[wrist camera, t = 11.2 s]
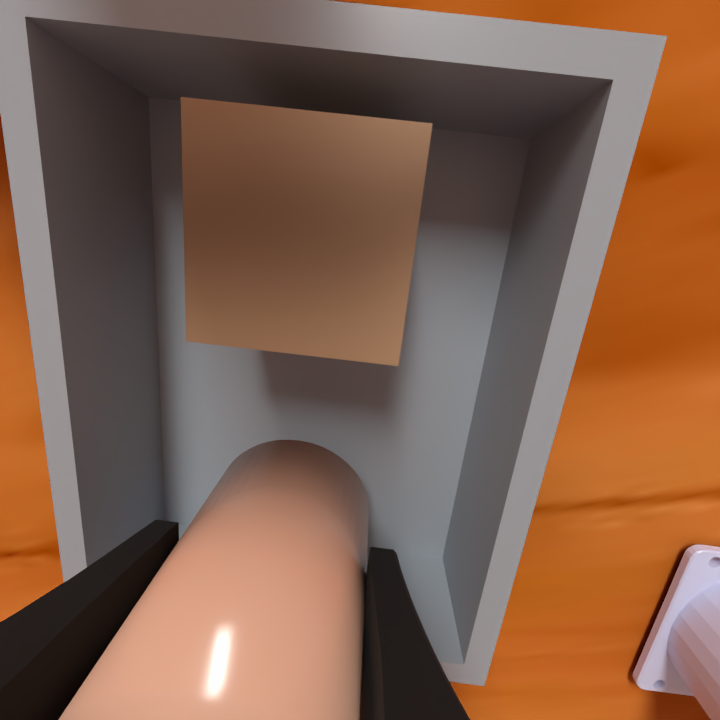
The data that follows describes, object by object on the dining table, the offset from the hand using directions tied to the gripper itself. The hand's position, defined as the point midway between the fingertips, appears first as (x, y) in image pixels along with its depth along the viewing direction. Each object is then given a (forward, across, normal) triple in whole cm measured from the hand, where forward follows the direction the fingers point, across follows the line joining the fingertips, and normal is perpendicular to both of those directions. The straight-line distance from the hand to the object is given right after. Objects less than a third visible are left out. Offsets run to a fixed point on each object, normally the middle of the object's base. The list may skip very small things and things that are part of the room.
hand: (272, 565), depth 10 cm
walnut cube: (+6, 0, -8) cm, 10 cm away
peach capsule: (+3, 0, 0) cm, 3 cm away
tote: (+6, 0, -4) cm, 7 cm away
